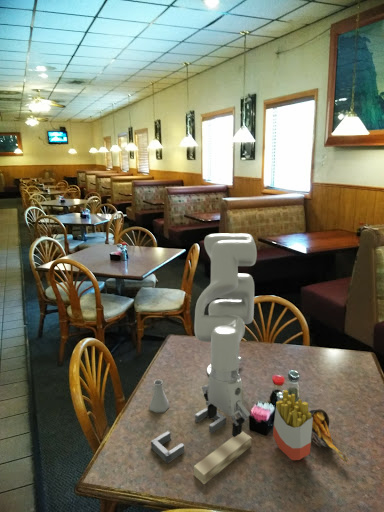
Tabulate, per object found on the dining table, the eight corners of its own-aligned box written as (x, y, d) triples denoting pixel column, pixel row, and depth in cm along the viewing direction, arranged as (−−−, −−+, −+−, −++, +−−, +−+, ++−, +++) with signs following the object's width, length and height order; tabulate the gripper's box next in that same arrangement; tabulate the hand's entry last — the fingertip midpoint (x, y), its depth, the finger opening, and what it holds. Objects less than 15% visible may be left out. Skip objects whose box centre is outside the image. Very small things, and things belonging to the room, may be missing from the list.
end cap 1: (168, 437, 117) (168, 430, 116) (184, 451, 111) (184, 445, 110) (151, 447, 113) (150, 441, 112) (167, 463, 107) (166, 456, 106)
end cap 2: (211, 433, 118) (211, 426, 117) (195, 420, 124) (195, 414, 123) (225, 423, 122) (226, 417, 121) (209, 411, 128) (209, 405, 127)
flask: (166, 414, 127) (165, 389, 124) (146, 412, 128) (144, 387, 126) (171, 401, 134) (170, 377, 131) (152, 399, 135) (151, 375, 133)
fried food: (317, 405, 123) (364, 422, 107) (313, 441, 121) (360, 462, 105) (296, 403, 119) (342, 419, 103) (292, 439, 117) (337, 462, 101)
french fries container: (298, 467, 105) (301, 413, 100) (271, 442, 114) (274, 392, 109) (309, 460, 107) (313, 407, 102) (282, 437, 116) (285, 387, 111)
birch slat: (241, 439, 116) (241, 430, 115) (251, 446, 113) (251, 437, 112) (194, 476, 103) (193, 466, 102) (204, 485, 100) (204, 474, 99)
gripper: (258, 379, 96) (256, 435, 100) (212, 354, 109) (212, 405, 113) (239, 390, 91) (238, 449, 95) (193, 363, 104) (194, 416, 108)
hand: (224, 425), depth 104 cm, fingers open, 9 cm apart
